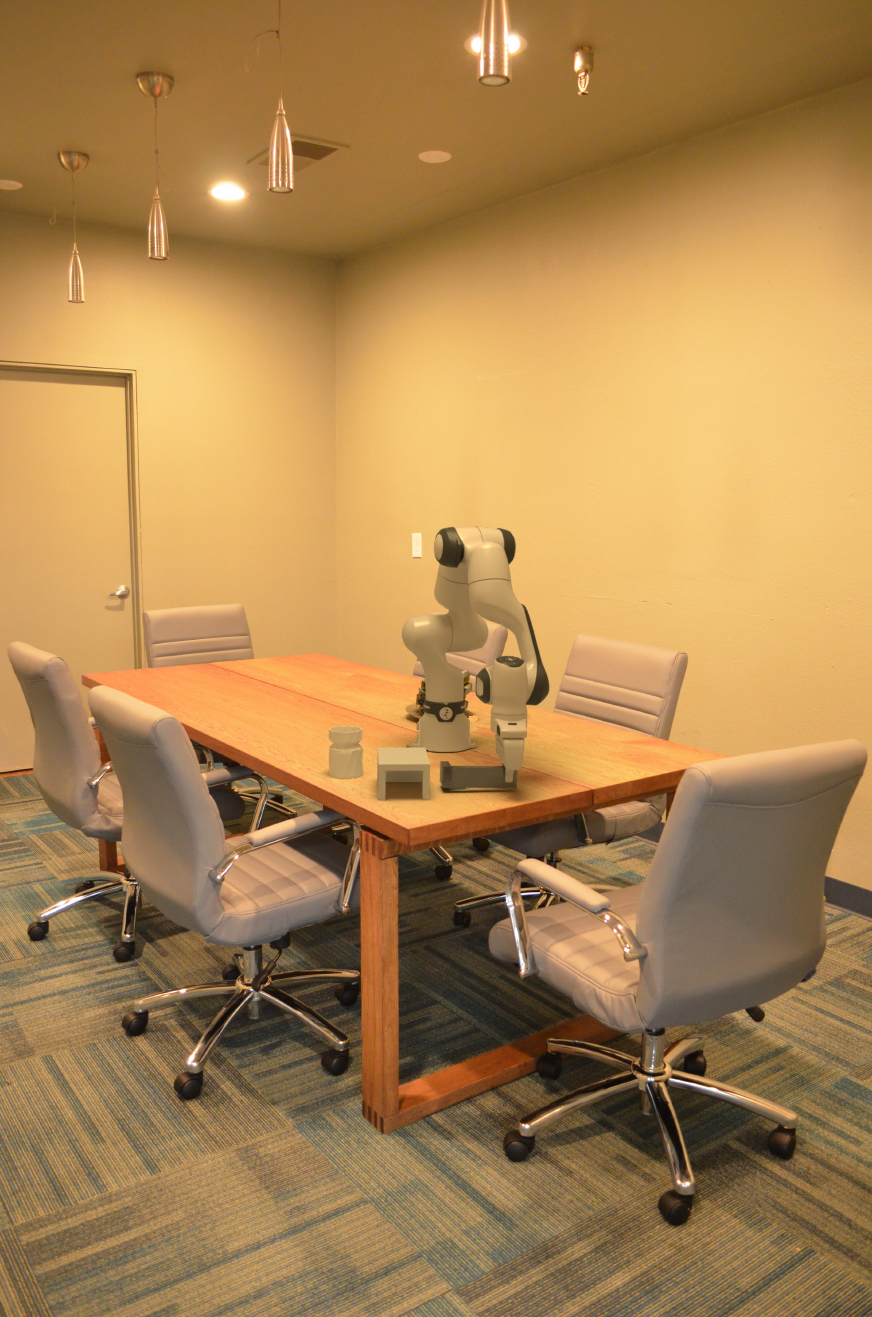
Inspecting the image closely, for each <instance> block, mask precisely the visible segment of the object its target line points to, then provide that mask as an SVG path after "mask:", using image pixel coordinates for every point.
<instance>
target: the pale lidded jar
mask: <svg viewBox="0 0 872 1317" xmlns="http://www.w3.org/2000/svg"><path fill="white" fill-rule="evenodd" d="M363 731H364V730H363V728H362V727H359V726H353V725H352V726H351V725H342V726H341V725H340V726H339V725H337V726H333V727H330V728H329V729H328V740H329V741H330V742H331V743H332V744H331V745H330V746H329V748H328V767H329V777H330V776H331V777H330V778H333V777H334V778H333V779H337V778H340V779H339V780H353V779H352V778H354V779H359V778H361V777H362V776H363V774H364V765H363V757H364V748H363V746H362V745H361V744H360V742H362V740H363ZM358 777H359V778H358Z"/></svg>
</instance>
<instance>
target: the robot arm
mask: <svg viewBox="0 0 872 1317" xmlns="http://www.w3.org/2000/svg"><path fill="white" fill-rule="evenodd" d="M516 548H517V543H516V539H515V536H514V535H513V533H512V532H511V531H510V530H508V529H504V528H501V527H497V528H493V527H488V526H480V525H479V526H478V525H477V526H476V525H475V526H462V527H461V526H460V527H454V526H448V527H444V528H440V529H439V531H438V532H437V533H436V535H435V539H434V543H433V553H434V558H435V560H436V561H437V562H438V570H437V575H436V580H435V583H434V584H435V585H434V591H433V594H434V595H433V596H434V598H435V600H436V602H437V604H439V605H440V606H442V607H443V608H444V609H447V610H448V612H447V613H444V614H443V613H441V614H438V613H437V614H421V615H417V616H412V617H409V618H407V620H406V621H405V622H404V624H403V626H402V629H401V639H402V642H403V645H404V646H405V647H406V648H407V650H408V651H410V652H411V653H412V654H414V656H415V657H416V658H417V659H418V661H419V663H420V664H421V667H422V669H423V674H424V679H425V688H426V699H425V700H424V712H425V713H424V715H423V716H422V717H421V719H420V718H418V721H417V722H416V731H417V733H416V737H415V738H414V740H413V741H412V742H411V746H412V747H414V748H425V749H426V751H427V750H428V751H429V752H435V753H436V752H438V753H452V752H453V753H454V752H463V751H465V750H469V749H475V748H476V747H477V743H476V742H474V741H472V740H471V724H470V720H469V719H468V718H467V717H466V716H465V714H464V712H465V700H466V699H465V700H464V699H463V696H464V676H463V673H462V672H461V671H462V670H461V669H460V668H458V666H456V665H453V664H451V663H449V662H448V660H447V656H446V654H447V653H461V652H462V653H465V652H471V651H475V650H479V649H482V648H483V647H484V646H485V644H486V643H487V640H488V637H489V627H488V624H487V622H486V621H485V620H487V621H489V622H492V623H495V624H498V625H499V626H502V627H504V628H506V629H508V630H509V631H510V632H512V634H513V635H514V637H515V639H516V643H517V647H518V651H519V655H520V657H521V658H520V657H518V656H513V655H504V656H503V655H502V656H498V657H497V658H495V659H494V660H493V664H492V665H490V666H487V667H482V669H481V670H480V671H479V672H478V673H477V675H476V676H475V695H476V697H477V698H478V699H479V701H480V702H481V703H483V704H485V705H491V709H490V732H492V733H495V753H496V754H497V757H498V758H499V759H500V761H501V766H505V781H506V782H512V781H513V773H514V770H517V771H520V770H521V769H522V767H523V760H524V752H525V751H524V750H525V739H526V738H528V708H527V706H536V707H537V706H538V705H540V704H541V703H542V702H543V701H544V700H546V698H547V696H548V695H549V693H550V681H549V676H548V672H547V671H546V669H545V666H544V663H543V661H542V656H541V653H540V649H539V646H538V641H537V638H536V634H535V630H534V627H533V626H534V625H533V624H532V620H531V616H530V614H529V611H528V609H527V607H526V605H525V604H523V603H521V602H520V601H519V600H518V598H517V595H516V594H515V593H514V592H515V591H514V589H513V586H512V584H513V583H512V577H511V570H510V569H511V568H510V565H511V564H512V562H513V561H514V559H515V555H516Z"/></svg>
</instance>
